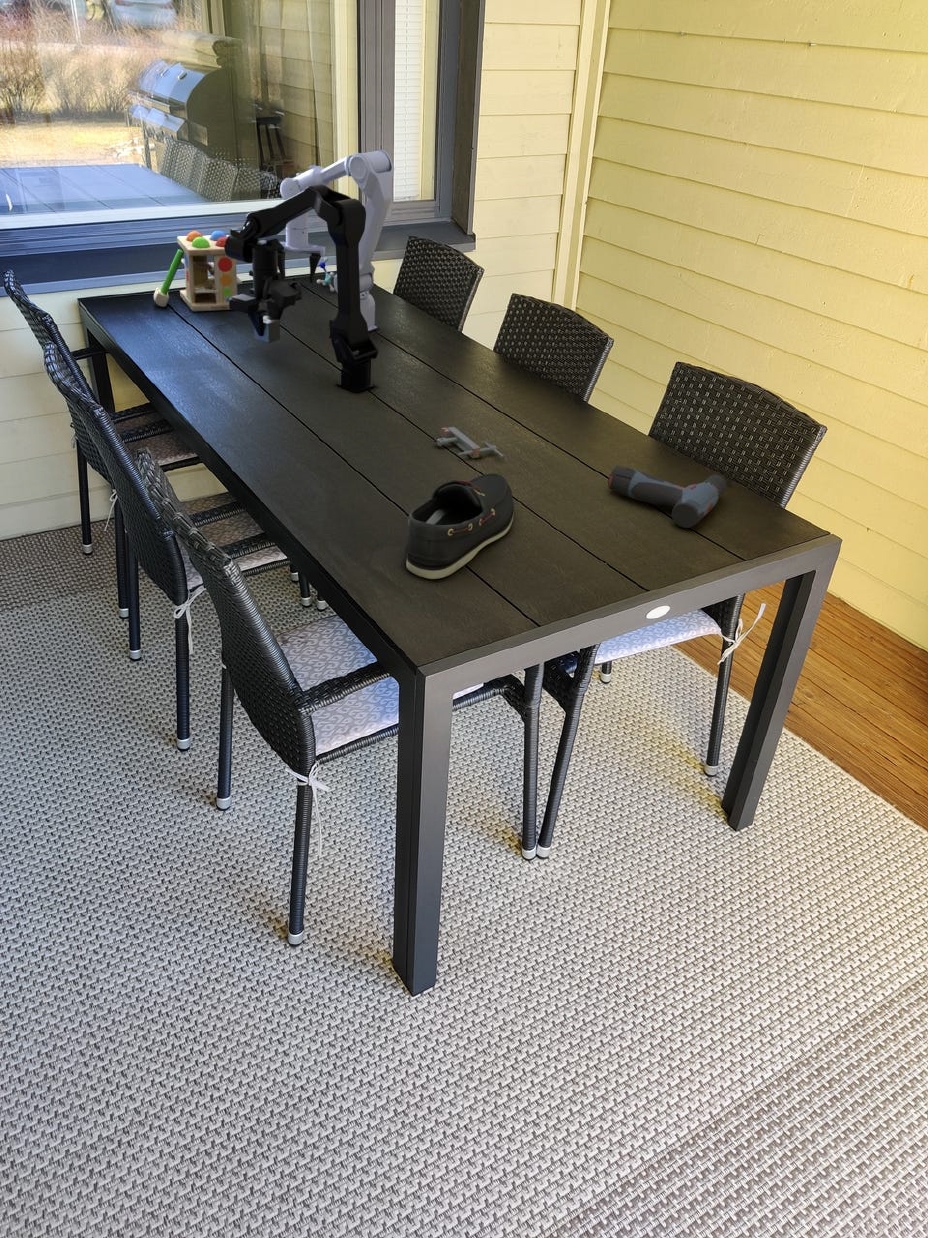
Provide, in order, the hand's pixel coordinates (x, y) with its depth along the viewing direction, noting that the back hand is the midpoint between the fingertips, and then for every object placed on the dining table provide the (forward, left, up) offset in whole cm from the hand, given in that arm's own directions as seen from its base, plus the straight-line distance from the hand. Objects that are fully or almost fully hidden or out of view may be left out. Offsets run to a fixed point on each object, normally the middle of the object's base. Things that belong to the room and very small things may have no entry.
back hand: (297, 280), depth 262 cm
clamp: (+43, +83, -9) cm, 94 cm away
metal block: (+30, +17, -5) cm, 35 cm away
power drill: (+34, +124, -9) cm, 129 cm away
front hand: (+30, +17, -4) cm, 34 cm away
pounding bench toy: (+15, -23, -9) cm, 29 cm away
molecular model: (-25, -9, -9) cm, 28 cm away
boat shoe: (+73, +102, -9) cm, 126 cm away
